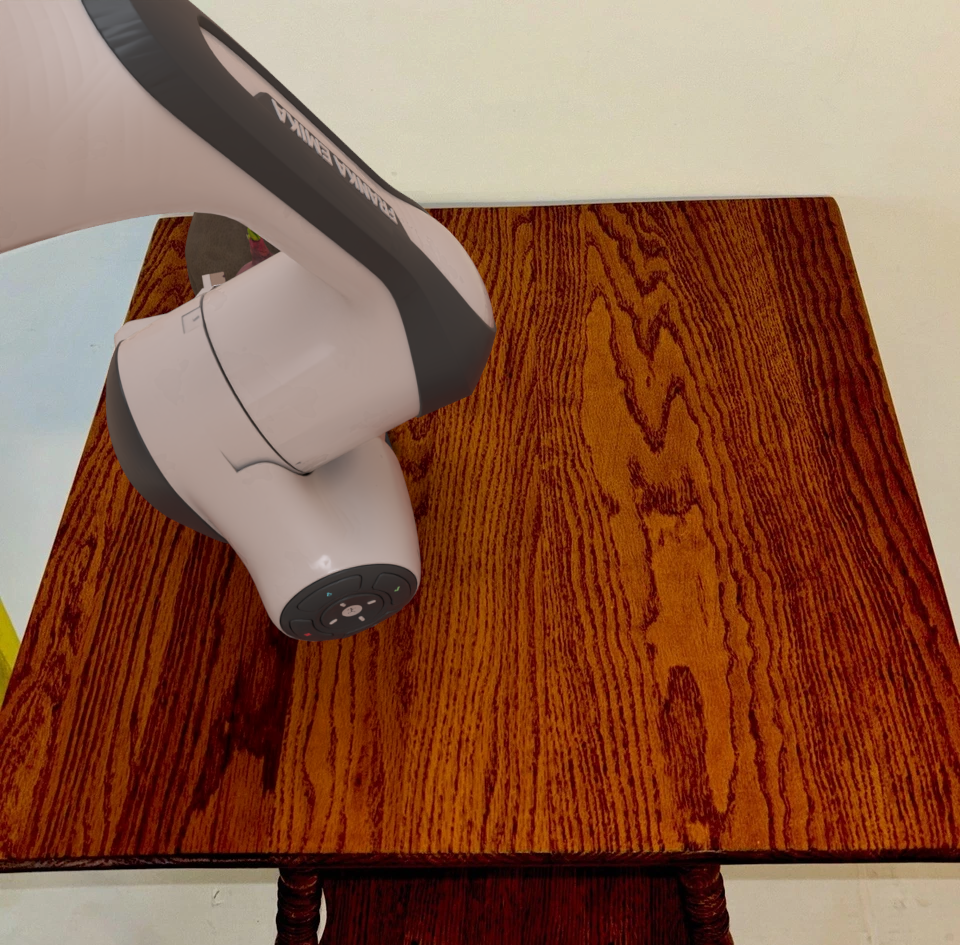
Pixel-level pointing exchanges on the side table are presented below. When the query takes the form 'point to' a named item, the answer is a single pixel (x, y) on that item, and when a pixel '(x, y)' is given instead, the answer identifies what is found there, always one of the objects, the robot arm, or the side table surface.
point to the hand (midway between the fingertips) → (267, 270)
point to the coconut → (217, 247)
